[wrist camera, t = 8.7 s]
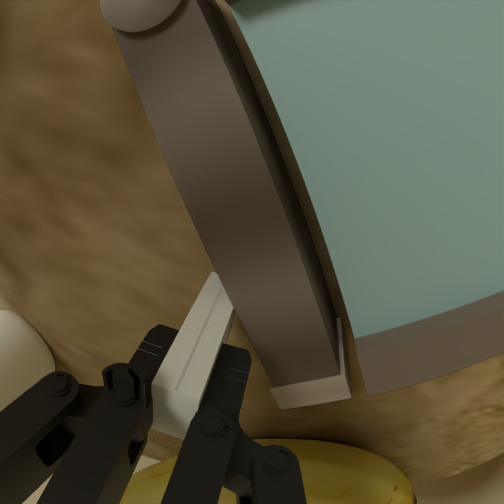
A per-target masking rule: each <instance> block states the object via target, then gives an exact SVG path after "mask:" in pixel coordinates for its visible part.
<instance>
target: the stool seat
mask: <svg viewBox="0 0 504 504" xmlns="http://www.w3.org/2000/svg"><path fill="white" fill-rule="evenodd" d="M225 1H226V3H227V4H228V5H229V7H230V9H231V11H232V13H233V15H234V17H235V19H236V21H237V23H238V25H239V27H240V29H241V31H242V33H243V35H244V37H245V40H246V42H247V44H248V46H249V48H250V50H251V53H252V55H253V57H254V59H255V61H256V64H257V66H258V68H259V70H260V73H261V75H262V77H263V79H264V82H265V84H266V86H267V89H268V91H269V93H270V96H271V98H272V100H273V103H274V105H275V108H276V110H277V112H278V115H279V117H280V120H281V122H282V125H283V127H284V130H285V132H286V135H287V137H288V140H289V142H290V145H291V147H292V150H293V153H294V155H295V158H296V160H297V163H298V166H299V168H300V171H301V174H302V176H303V179H304V182H305V185H306V187H307V190H308V193H309V196H310V198H311V201H312V204H313V207H314V210H315V213H316V216H317V218H318V221H319V224H320V227H321V230H322V233H323V236H324V239H325V242H326V245H327V248H328V251H329V254H330V257H331V261H332V264H333V267H334V270H335V273H336V277H337V280H338V283H339V286H340V290H341V293H342V296H343V300H344V303H345V306H346V310H347V313H348V317H349V320H350V324H351V327H352V331H353V335H354V338H355V346H356V354H357V358H358V362H359V365H360V369H361V373H362V377H363V381H364V385H365V389H366V393H367V397H368V396H373V395H377V394H381V393H385V392H389V391H393V390H396V389H400V388H404V387H407V386H411V385H414V384H418V383H421V382H424V381H428V380H431V379H434V378H437V377H440V376H443V375H446V374H449V373H452V372H455V371H458V370H461V369H463V368H466V367H469V366H471V365H474V364H477V363H479V362H482V361H484V360H487V359H489V358H492V357H494V356H497V355H499V354H501V353H504V0H225Z"/></svg>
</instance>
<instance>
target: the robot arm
mask: <svg viewBox="0 0 504 504" xmlns="http://www.w3.org/2000/svg"><path fill="white" fill-rule="evenodd" d="M234 315H235V310H234V308H233V305H232V303H231V301H230V299H229V297H228V295H227V293H226V291H225V289H224V287H223V285H222V283H221V281H220V279H219V276H218V274H217V273H215V272H211V274H210V275H209V277H208V279H207V281H206V283H205V284H204V286H203V288H202V290H201V292H200V294H199V295H198V297H197V299H196V301H195V303H194V305H193V306H192V308H191V310H190V312H189V314H188V316H187V317H186V319H185V321H184V323H183V325H182V327H181V329H180V330H176V329H173V328H170V327H167V326H164V325H161V324H159V325H157V326H156V327H154V328H153V329H151V330H149V332H148V333H147V335H146V337H145V338H144V340H143V342H142V343H141V344H140V346H139V347H138V350H137V351H136V352H135V354H134V355H133V357H132V359H131V360H130V362H129V363H128V364H126V363H115V364H112V365H110V366H107V367H106V368H105V369H104V370H103V371H102V375H103V381H104V386H90V385H83V384H78V382H77V380H76V379H75V378H74V376H73V375H71V374H69V373H67V372H63V371H56V372H51V373H49V374H48V375H46V376H44V377H43V378H42V379H41V380H39V381H38V382H37V383H36V384H34V385H33V386H32V387H30V388H29V389H28V390H27V391H25V392H24V393H23V394H22V395H20V396H19V397H18V398H17V399H15V400H14V401H13V402H12V403H10V404H9V405H8V406H7V407H5V408H4V409H3V410H2V411H0V504H22V503H23V502H24V501H25V500H26V499H27V498H28V497H29V496H30V495H31V494H32V493H33V492H34V491H35V490H37V489H38V488H39V487H40V486H41V484H43V483H44V482H45V481H46V480H47V479H48V478H49V477H50V476H51V475H52V474H53V475H52V477H51V479H50V480H49V482H48V484H47V486H46V487H45V490H44V491H43V493H42V495H41V496H40V498H39V500H38V502H37V504H120V502H121V499H122V497H123V495H124V492H125V490H126V488H127V486H128V483H129V481H130V479H131V477H132V474H133V472H134V470H135V467H136V465H137V463H138V461H139V459H140V456H141V454H142V452H143V450H144V447H145V445H146V443H147V438H148V435H147V433H148V431H149V429H150V427H151V425H152V429H153V430H156V431H159V432H161V433H164V434H167V435H170V436H173V437H176V438H179V439H182V440H184V441H183V444H182V446H181V449H180V452H179V455H178V457H177V460H176V463H175V466H174V468H173V471H172V474H171V476H170V479H169V482H168V485H167V487H166V490H165V493H164V496H163V498H162V501H161V504H218V501H219V497H220V493H221V489H222V486H223V487H225V488H226V489H228V490H230V491H232V492H233V493H235V494H236V501H237V504H307V502H306V496H305V491H304V485H303V480H302V475H301V469H300V464H299V461H298V459H297V456H296V455H295V454H294V453H293V452H292V451H291V450H290V449H288V448H286V447H284V446H280V445H268V446H263V445H261V444H259V443H257V442H256V441H254V440H252V439H251V438H249V437H248V436H247V435H246V434H245V433H244V432H243V431H242V429H241V427H240V425H239V420H238V419H239V412H240V408H241V404H242V400H243V396H244V392H245V387H246V383H247V379H248V374H249V371H250V366H251V362H252V361H251V358H250V354H249V351H248V350H245V349H242V348H238V347H235V346H231V345H228V344H226V342H227V339H228V336H229V333H230V330H231V327H232V323H233V319H234Z"/></svg>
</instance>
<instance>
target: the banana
mask: <svg viewBox="0 0 504 504" xmlns="http://www.w3.org/2000/svg"><path fill="white" fill-rule="evenodd" d="M252 440H254V441H256V442H257V443H259V444H261V445H263V446H268V445H280V446H284V447H286V448H288V449H290V450H291V451H292V452H293V453H294V454H295V455H296V456H297V459H298V461H299V464H300V469H301V475H302V480H303V485H304V491H305V496H306V502H307V504H416V503H417V500H416V496H415V493H414V490H413V487H412V485H411V483H410V481H409V480H408V478H407V477H406V476H405V474H404V473H403V472H402V471H401V470H400V469H398V468H397V467H396V466H395V465H393V464H392V463H391V462H389V461H388V460H386V459H384V458H382V457H380V456H379V455H376V454H374V453H371V452H369V451H366V450H363V449H360V448H356V447H352V446H348V445H344V444H339V443H333V442H327V441H318V440H305V439H252ZM177 457H178V455H177V456H174V457H172V458H169V459H166V460H164V461H161V462H159V463H156V464H154V465H151V466H149V467H147V468H145V469H143V470H141V471H139V472H137V473H135V474H134V475H132V477H131V479H130V481H129V483H128V486H127V488H126V490H125V492H124V495H123V497H122V499H121V502H120V504H161V501H162V498H163V496H164V493H165V490H166V487H167V485H168V482H169V479H170V476H171V474H172V471H173V468H174V466H175V463H176V460H177ZM218 504H237V501H236V494H235V493H233V492H232V491H230V490H228V489H226V488H225V487H223V486H222V489H221V493H220V497H219V501H218Z"/></svg>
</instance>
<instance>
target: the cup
mask: <svg viewBox="0 0 504 504" xmlns="http://www.w3.org/2000/svg"><path fill="white" fill-rule="evenodd" d="M51 372H55V362H54V359H53V356H52V354H51V352H50V350H49V348H48V346H47V345H46V343H45V342H44V340H43V339H42V338H41V336H40V335H39V334H38V332H37V331H36V330H35V329H34V328H33V327H32V326H31V325H30V324H29V323H28V322H27V321H26V320H25V319H23V318H22V317H21V316H19V315H18V314H16V313H14V312H12V311H9V310H1V311H0V411H2V410H3V409H4V408H5V407H7V406H8V405H9V404H10V403H12V402H13V401H14V400H15V399H17V398H18V397H19V396H20V395H22V394H23V393H24V392H25V391H27V390H28V389H29V388H30V387H32V386H33V385H34V384H36V383H37V382H38V381H39V380H41V379H42V378H43V377H44V376H46V375H48V374H49V373H51Z"/></svg>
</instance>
